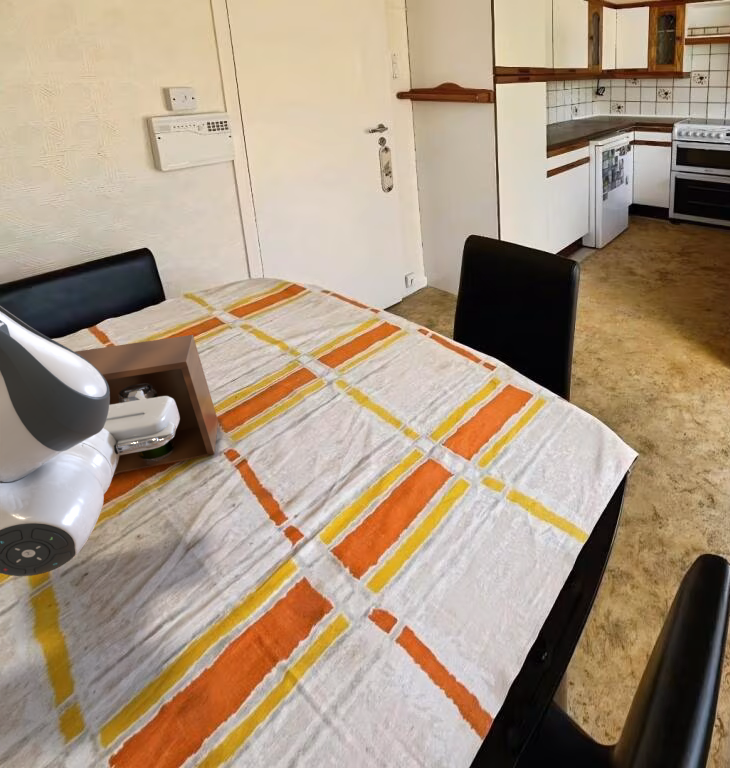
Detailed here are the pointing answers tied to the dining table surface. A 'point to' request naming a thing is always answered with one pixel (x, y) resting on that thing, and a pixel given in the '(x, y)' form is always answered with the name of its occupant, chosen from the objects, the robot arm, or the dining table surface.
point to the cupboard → (163, 391)
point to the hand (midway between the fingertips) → (98, 402)
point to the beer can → (148, 393)
